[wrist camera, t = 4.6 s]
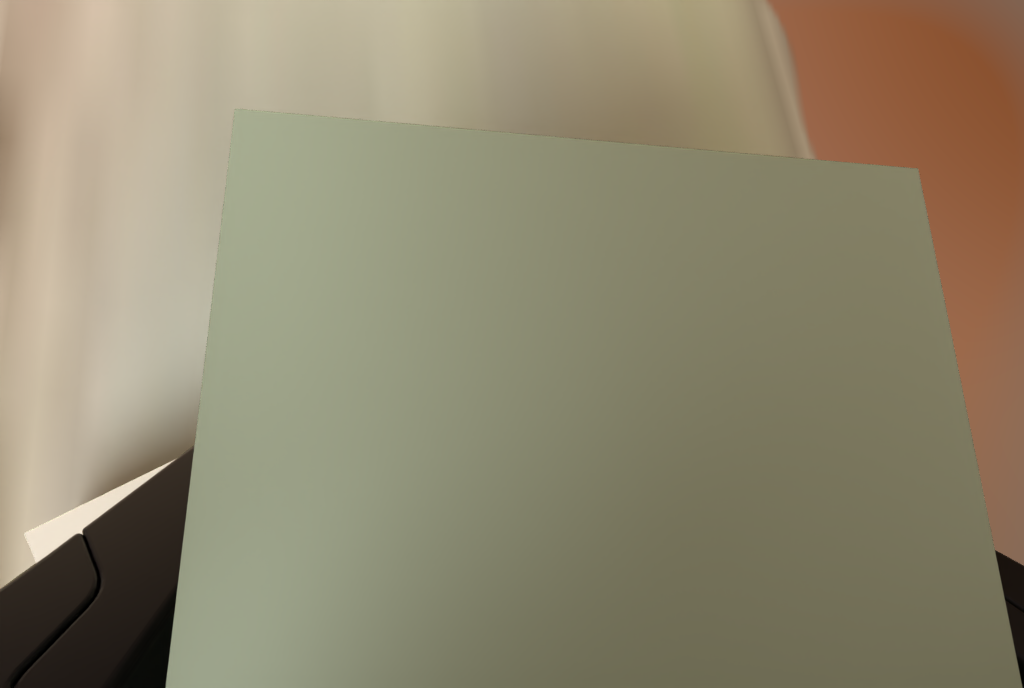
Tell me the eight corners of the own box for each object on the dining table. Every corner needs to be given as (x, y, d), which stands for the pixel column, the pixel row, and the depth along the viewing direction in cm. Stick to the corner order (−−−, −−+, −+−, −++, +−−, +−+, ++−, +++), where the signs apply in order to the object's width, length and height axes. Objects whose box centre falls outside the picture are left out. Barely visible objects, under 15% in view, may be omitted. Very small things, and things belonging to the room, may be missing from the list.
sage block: (587, 643, 13) (1075, 954, 4) (334, 654, 12) (117, 1092, 3) (577, 401, 14) (918, 168, 5) (349, 396, 14) (235, 109, 4)
